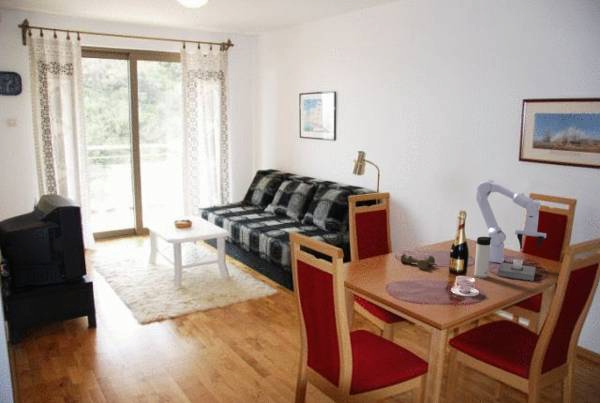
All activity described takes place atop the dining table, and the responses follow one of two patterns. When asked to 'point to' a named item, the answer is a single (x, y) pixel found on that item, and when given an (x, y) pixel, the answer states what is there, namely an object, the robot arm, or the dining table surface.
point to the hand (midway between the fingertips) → (529, 249)
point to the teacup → (465, 286)
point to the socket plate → (516, 272)
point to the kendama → (419, 261)
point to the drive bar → (517, 265)
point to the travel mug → (482, 257)
